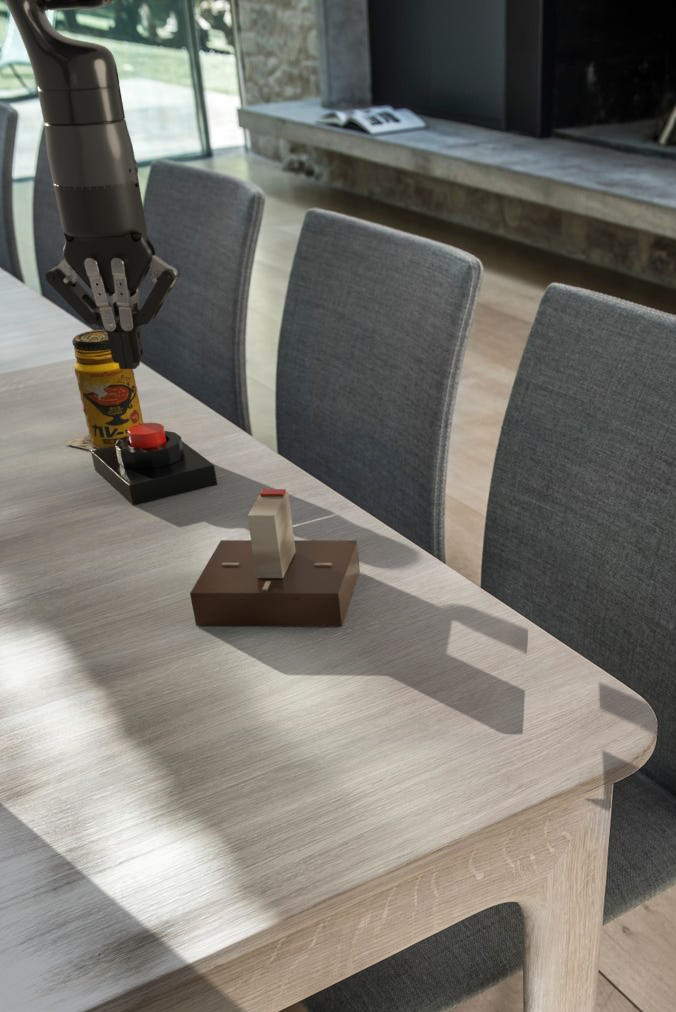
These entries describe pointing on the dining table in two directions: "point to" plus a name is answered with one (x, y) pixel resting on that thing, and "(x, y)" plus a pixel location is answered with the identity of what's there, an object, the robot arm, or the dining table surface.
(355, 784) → the dining table surface
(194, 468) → the button box
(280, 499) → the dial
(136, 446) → the button
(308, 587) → the brown flat block
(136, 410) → the condiment
